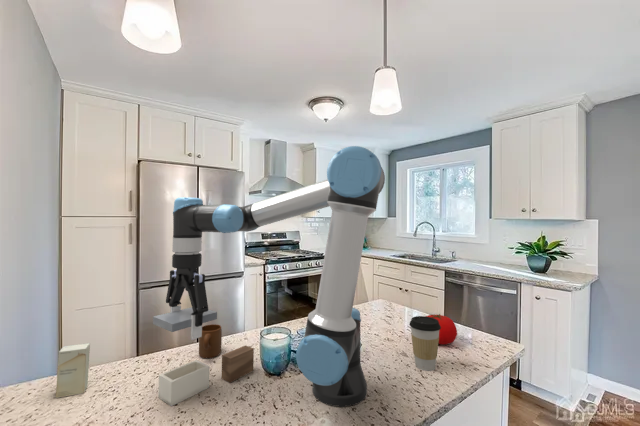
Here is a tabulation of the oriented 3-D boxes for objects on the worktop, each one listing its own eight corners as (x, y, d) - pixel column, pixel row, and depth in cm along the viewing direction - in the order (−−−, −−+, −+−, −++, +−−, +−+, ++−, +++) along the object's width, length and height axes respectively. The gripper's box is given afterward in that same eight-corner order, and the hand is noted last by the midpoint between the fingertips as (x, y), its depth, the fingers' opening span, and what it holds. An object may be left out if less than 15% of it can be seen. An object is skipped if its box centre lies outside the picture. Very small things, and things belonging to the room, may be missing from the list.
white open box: (209, 387, 85) (209, 365, 86) (171, 406, 77) (171, 382, 77) (196, 380, 89) (196, 359, 89) (158, 397, 80) (158, 374, 81)
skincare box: (55, 399, 80) (56, 352, 80) (61, 390, 84) (62, 346, 84) (84, 393, 82) (86, 348, 83) (89, 385, 86) (90, 342, 87)
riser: (253, 370, 95) (253, 348, 95) (229, 382, 88) (230, 358, 88) (245, 367, 98) (245, 345, 98) (221, 378, 90) (221, 355, 90)
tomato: (464, 344, 117) (464, 317, 117) (445, 352, 110) (444, 323, 110) (432, 333, 129) (432, 308, 129) (413, 339, 122) (412, 313, 122)
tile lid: (216, 319, 86) (217, 311, 86) (172, 332, 75) (172, 324, 75) (196, 312, 92) (197, 306, 92) (152, 324, 81) (153, 316, 81)
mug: (217, 364, 100) (217, 335, 100) (192, 365, 98) (193, 336, 99) (222, 349, 111) (223, 323, 112) (201, 350, 110) (201, 324, 110)
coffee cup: (442, 363, 101) (441, 317, 102) (440, 376, 92) (440, 326, 93) (411, 357, 105) (411, 314, 106) (407, 369, 96) (407, 322, 97)
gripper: (223, 254, 81) (222, 338, 80) (178, 249, 94) (176, 321, 93) (198, 257, 75) (196, 348, 74) (153, 251, 88) (151, 328, 87)
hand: (185, 333), depth 83 cm, fingers closed on tile lid, 10 cm apart
